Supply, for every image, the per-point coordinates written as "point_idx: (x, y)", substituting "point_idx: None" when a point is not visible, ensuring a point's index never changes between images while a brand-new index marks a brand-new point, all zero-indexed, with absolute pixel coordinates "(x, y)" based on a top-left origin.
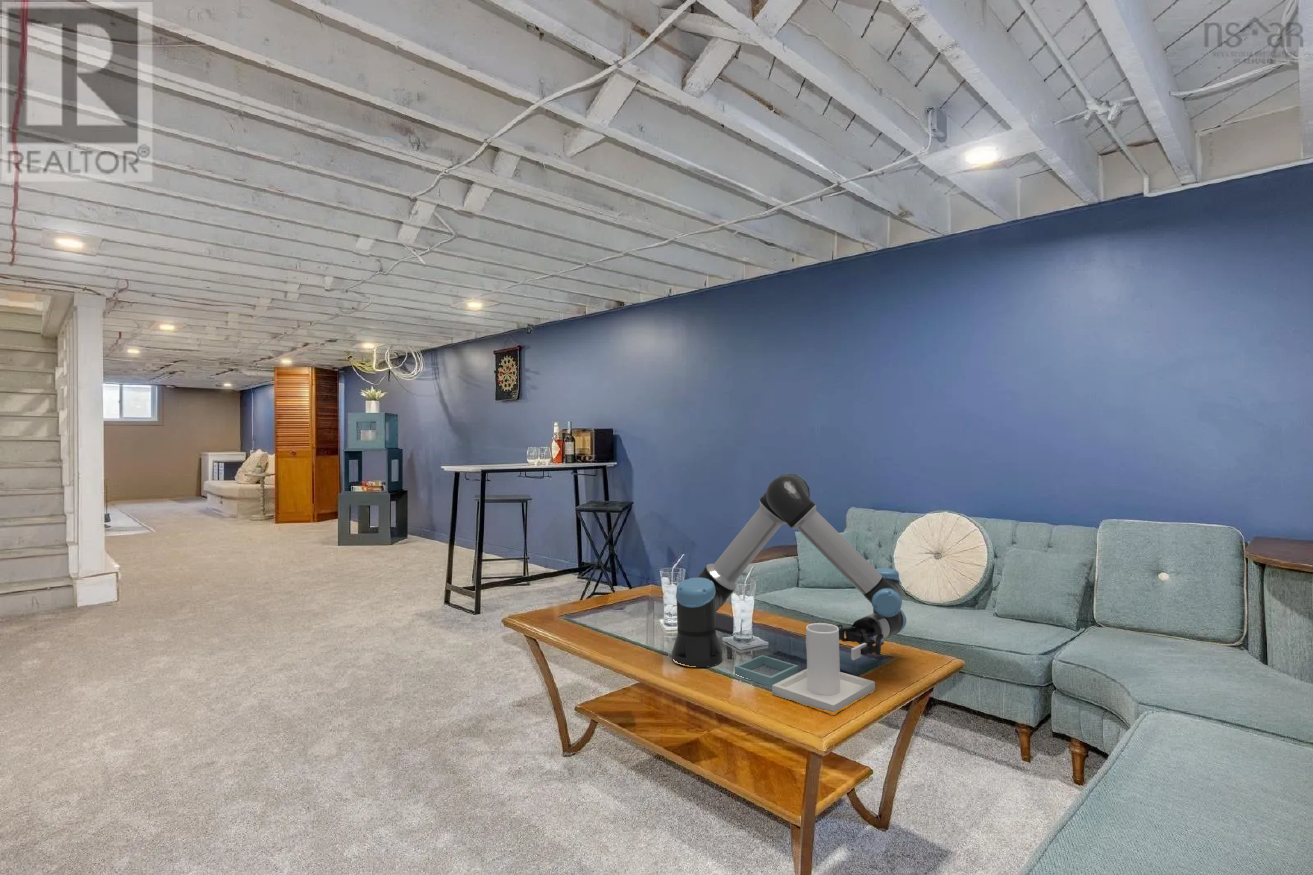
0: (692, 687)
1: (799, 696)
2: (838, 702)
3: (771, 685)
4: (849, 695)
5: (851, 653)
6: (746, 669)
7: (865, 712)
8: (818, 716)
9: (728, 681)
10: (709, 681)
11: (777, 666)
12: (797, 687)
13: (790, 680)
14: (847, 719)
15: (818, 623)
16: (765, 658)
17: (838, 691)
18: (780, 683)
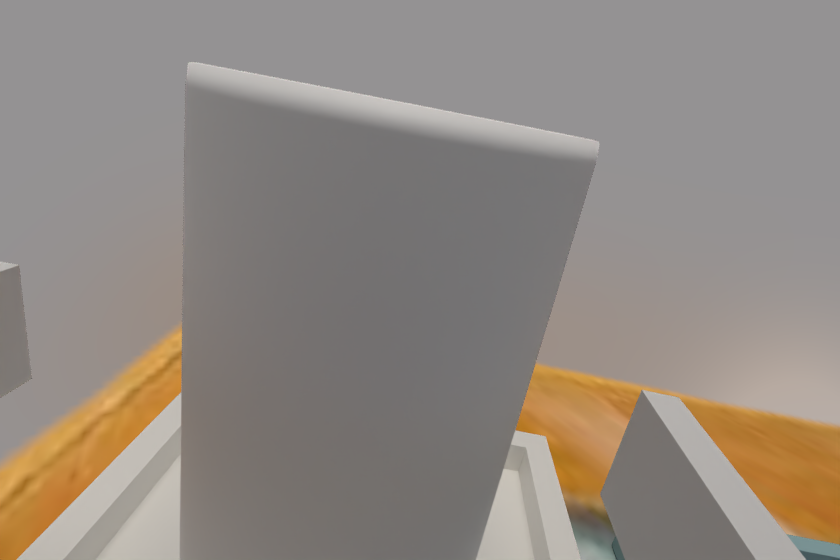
0: (754, 420)
1: None
2: (180, 393)
3: (615, 538)
4: (104, 477)
5: (20, 313)
6: (829, 548)
7: (6, 492)
8: None
9: (782, 513)
10: (805, 479)
11: None
12: (480, 551)
13: (544, 542)
14: (136, 405)
15: (561, 138)
16: None
17: None
18: (535, 464)
